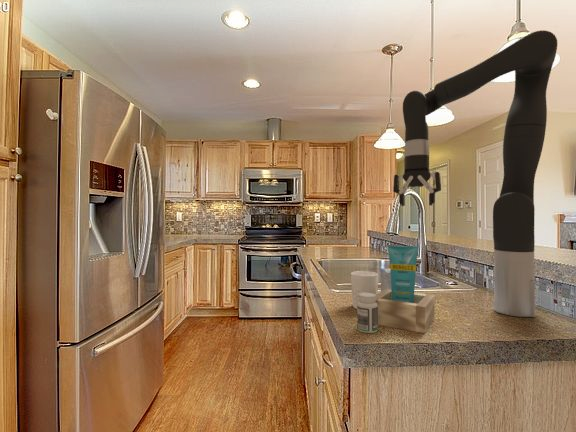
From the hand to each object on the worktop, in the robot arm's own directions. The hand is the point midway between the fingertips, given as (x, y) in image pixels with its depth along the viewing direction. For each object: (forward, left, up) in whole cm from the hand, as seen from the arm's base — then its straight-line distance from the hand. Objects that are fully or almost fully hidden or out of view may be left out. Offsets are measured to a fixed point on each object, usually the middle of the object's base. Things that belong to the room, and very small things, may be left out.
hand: (416, 205), depth 106 cm
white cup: (+11, +19, -30) cm, 37 cm away
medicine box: (+8, +1, -30) cm, 31 cm away
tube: (-2, +25, -30) cm, 39 cm away
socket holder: (-2, +25, -30) cm, 39 cm away
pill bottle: (+3, +37, -30) cm, 48 cm away
